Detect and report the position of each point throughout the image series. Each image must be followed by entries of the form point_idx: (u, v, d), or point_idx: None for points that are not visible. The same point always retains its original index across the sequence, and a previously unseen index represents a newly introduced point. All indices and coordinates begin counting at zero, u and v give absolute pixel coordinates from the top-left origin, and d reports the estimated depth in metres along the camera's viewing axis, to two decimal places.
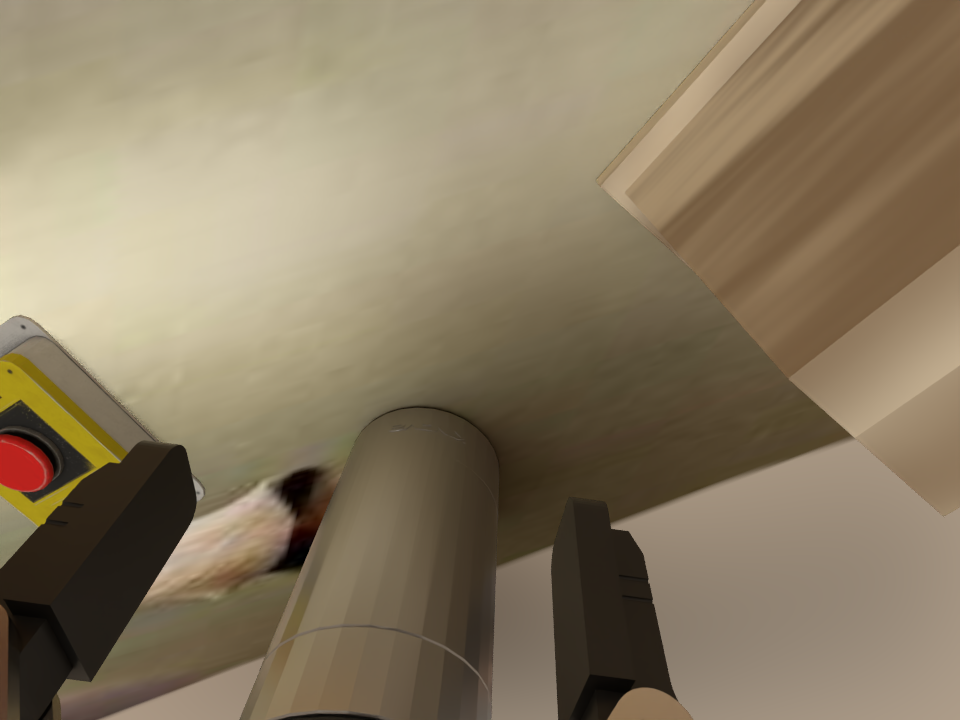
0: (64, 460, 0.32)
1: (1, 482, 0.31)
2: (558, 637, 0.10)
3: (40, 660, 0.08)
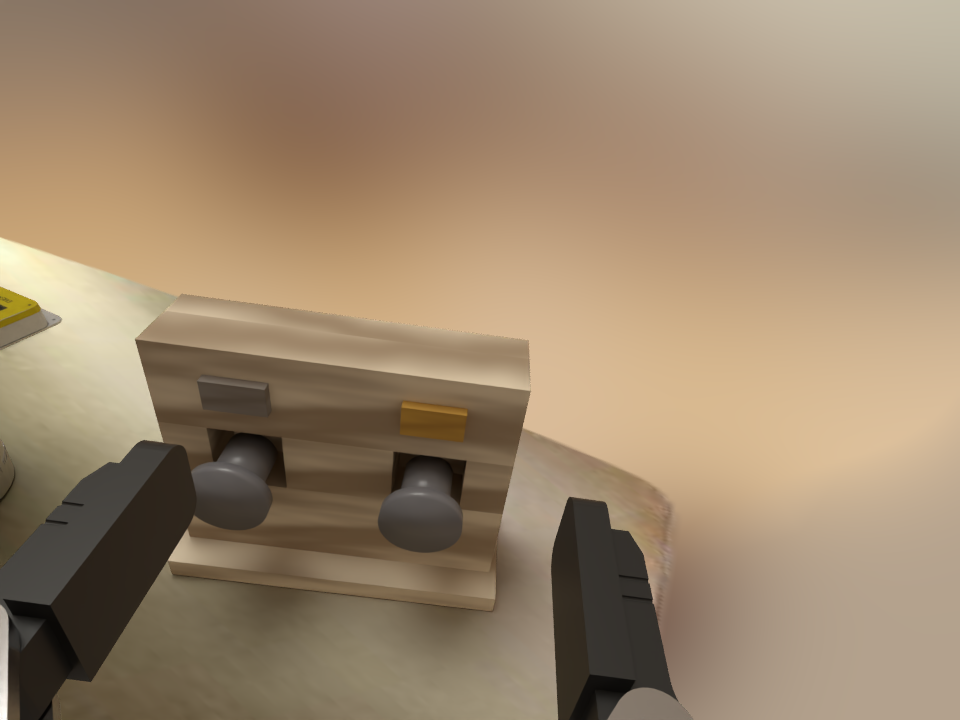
0: None
1: None
2: (558, 637, 0.10)
3: (40, 660, 0.08)
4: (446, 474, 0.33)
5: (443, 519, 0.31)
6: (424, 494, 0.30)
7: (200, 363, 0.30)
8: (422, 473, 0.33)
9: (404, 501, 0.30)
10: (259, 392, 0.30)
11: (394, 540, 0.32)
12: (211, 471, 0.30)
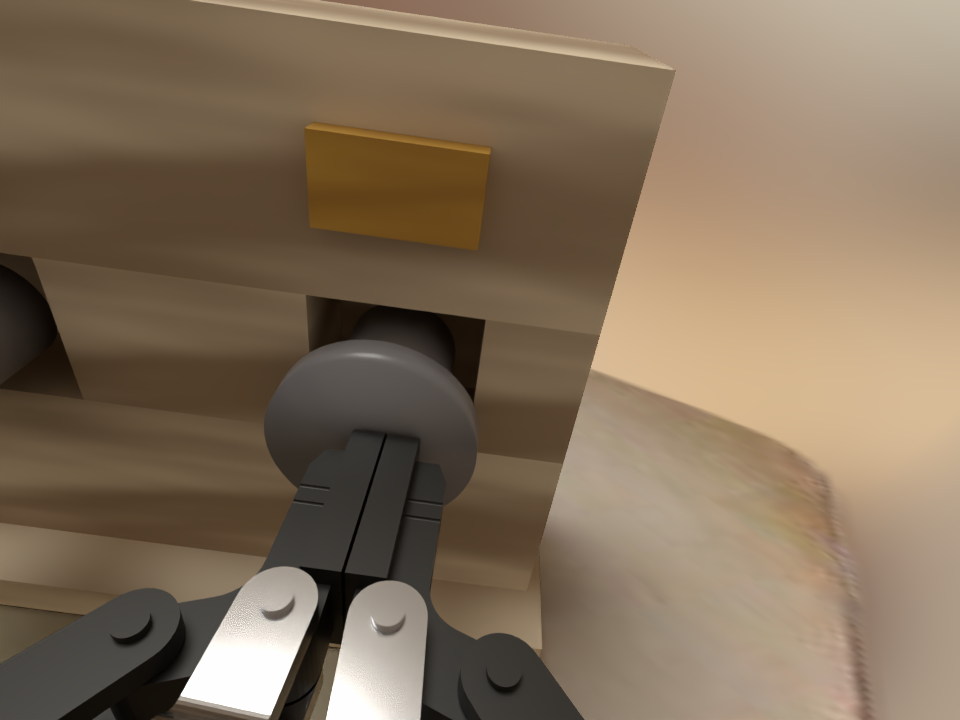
0: None
1: None
2: None
3: (325, 621, 0.09)
4: (440, 341, 0.15)
5: (429, 427, 0.12)
6: (377, 355, 0.11)
7: None
8: (381, 331, 0.14)
9: (324, 373, 0.11)
10: None
11: None
12: None
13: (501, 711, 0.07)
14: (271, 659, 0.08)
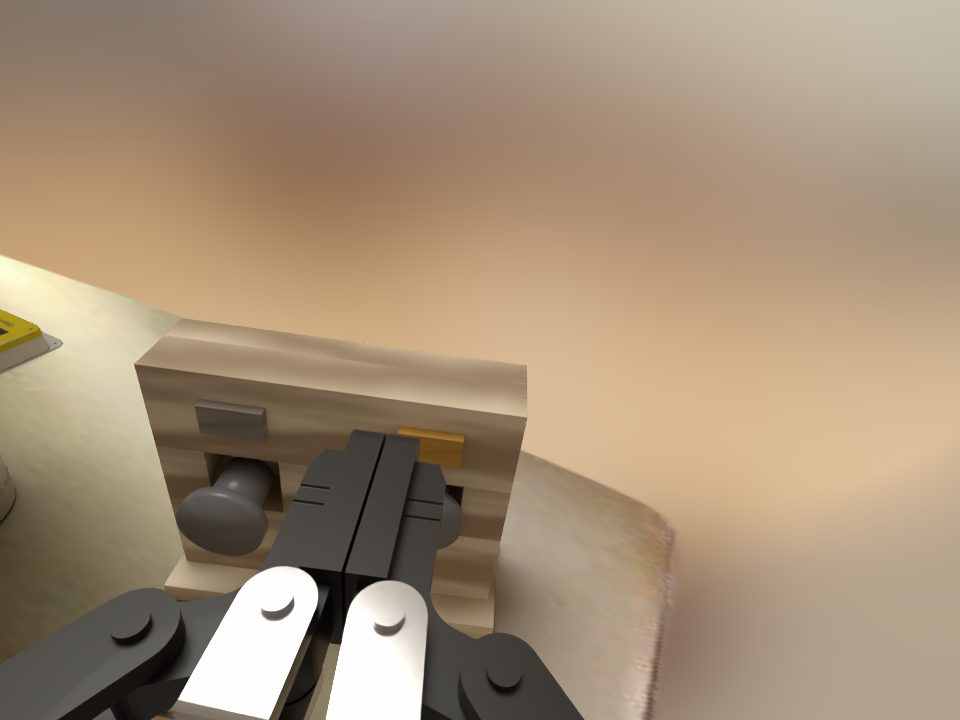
0: None
1: None
2: None
3: (325, 621, 0.09)
4: None
5: (443, 517, 0.32)
6: None
7: (198, 388, 0.30)
8: None
9: None
10: (256, 417, 0.30)
11: None
12: (207, 496, 0.30)
13: (501, 711, 0.07)
14: (271, 659, 0.08)
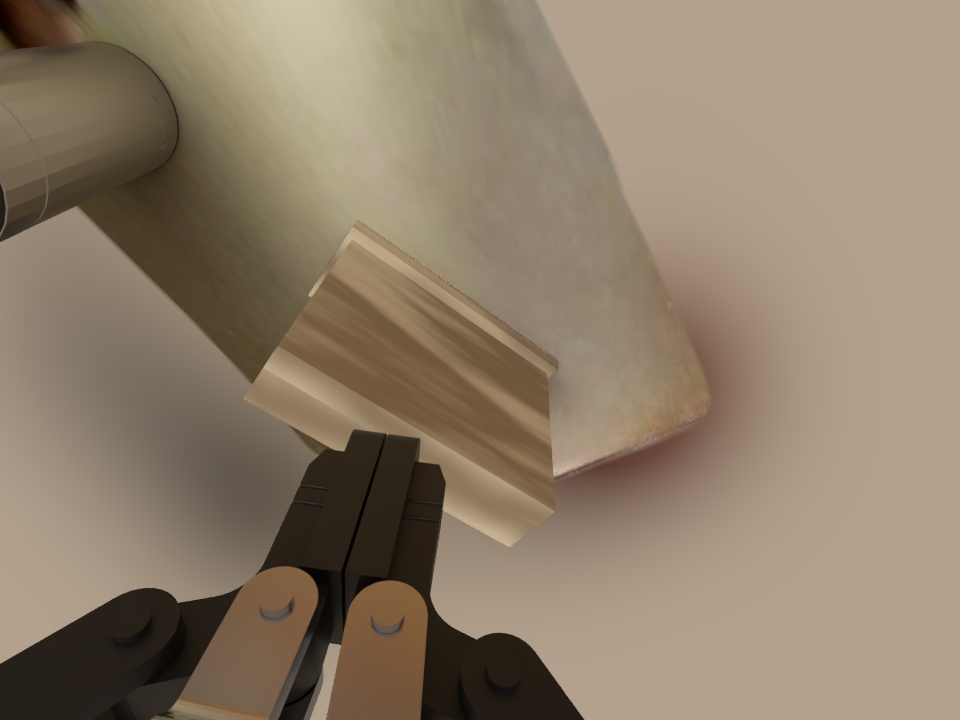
0: None
1: None
2: None
3: (325, 620, 0.09)
4: None
5: None
6: None
7: None
8: None
9: None
10: None
11: None
12: None
13: (501, 711, 0.07)
14: (271, 659, 0.08)
